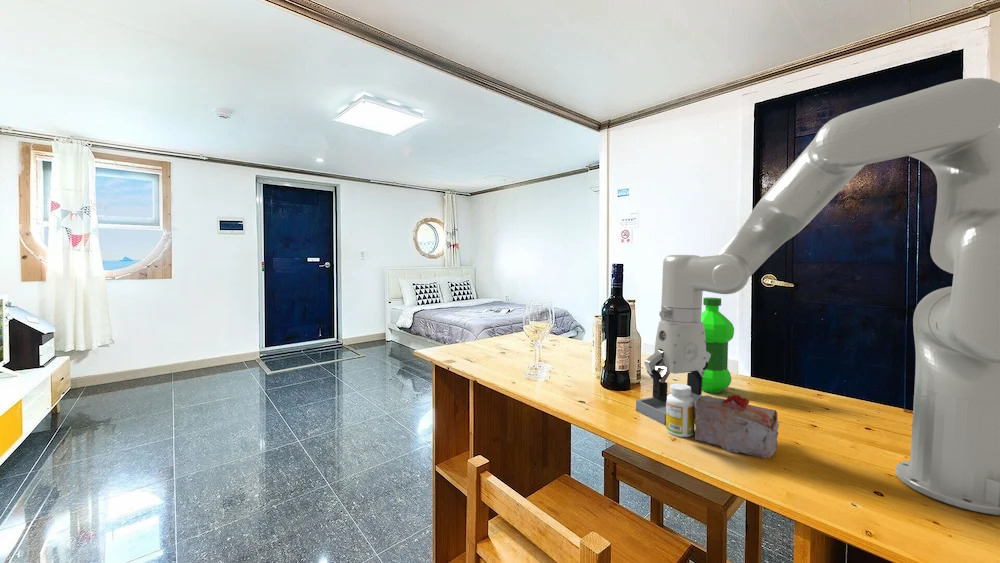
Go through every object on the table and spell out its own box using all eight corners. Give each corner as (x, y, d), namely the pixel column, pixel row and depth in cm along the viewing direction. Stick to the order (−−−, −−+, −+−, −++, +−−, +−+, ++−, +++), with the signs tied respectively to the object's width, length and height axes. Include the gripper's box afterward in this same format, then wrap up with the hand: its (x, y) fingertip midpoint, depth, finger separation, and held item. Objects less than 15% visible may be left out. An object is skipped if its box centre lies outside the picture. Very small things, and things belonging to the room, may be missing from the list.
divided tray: (718, 411, 90) (718, 401, 90) (664, 425, 84) (664, 413, 84) (687, 399, 98) (687, 389, 98) (636, 410, 92) (636, 400, 92)
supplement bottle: (688, 426, 83) (689, 382, 82) (698, 438, 78) (699, 391, 77) (662, 425, 83) (662, 381, 83) (670, 437, 78) (671, 390, 77)
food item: (779, 449, 73) (781, 398, 72) (775, 467, 67) (777, 412, 66) (700, 429, 82) (701, 383, 81) (690, 443, 76) (691, 394, 75)
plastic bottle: (691, 393, 102) (692, 300, 101) (688, 381, 112) (690, 295, 110) (734, 398, 98) (737, 301, 97) (728, 385, 108) (730, 296, 106)
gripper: (663, 321, 72) (659, 409, 74) (726, 315, 79) (722, 396, 80) (634, 314, 79) (631, 395, 80) (695, 310, 86) (691, 385, 87)
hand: (677, 396), depth 80 cm, fingers open, 9 cm apart
